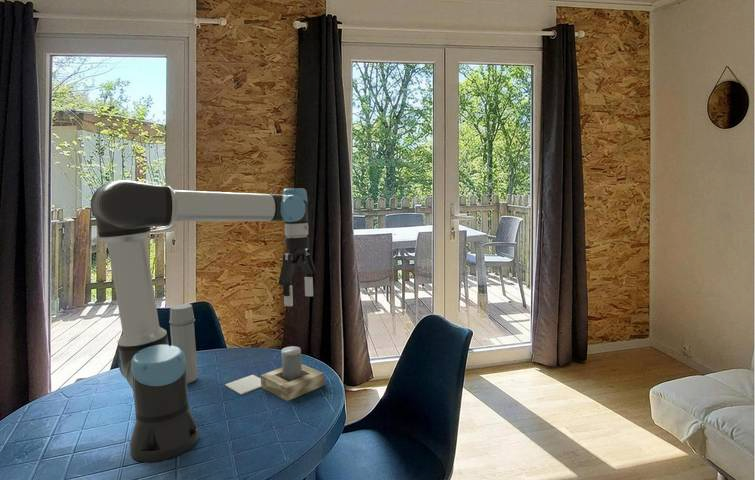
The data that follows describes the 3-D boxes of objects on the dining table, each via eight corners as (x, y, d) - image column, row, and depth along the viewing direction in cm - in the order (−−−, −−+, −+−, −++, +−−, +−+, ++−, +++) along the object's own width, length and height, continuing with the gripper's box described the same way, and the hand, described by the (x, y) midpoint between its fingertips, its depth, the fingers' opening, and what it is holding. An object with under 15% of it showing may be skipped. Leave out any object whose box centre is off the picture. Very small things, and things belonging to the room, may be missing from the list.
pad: (240, 395, 135) (240, 393, 135) (225, 385, 141) (224, 384, 141) (269, 384, 142) (269, 383, 142) (252, 375, 149) (252, 374, 149)
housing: (287, 401, 130) (286, 388, 130) (261, 387, 140) (260, 375, 139) (324, 385, 140) (323, 373, 140) (297, 373, 150) (297, 362, 149)
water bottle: (193, 385, 142) (187, 309, 139) (169, 385, 142) (163, 309, 140) (204, 373, 151) (200, 302, 148) (182, 373, 151) (176, 302, 149)
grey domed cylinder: (290, 392, 136) (288, 354, 134) (279, 386, 140) (277, 350, 138) (306, 386, 140) (304, 349, 139) (294, 380, 144) (293, 345, 143)
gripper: (286, 240, 130) (289, 311, 132) (324, 232, 153) (326, 292, 156) (264, 240, 133) (268, 309, 135) (305, 232, 156) (307, 291, 158)
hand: (299, 300), depth 145 cm, fingers open, 13 cm apart
